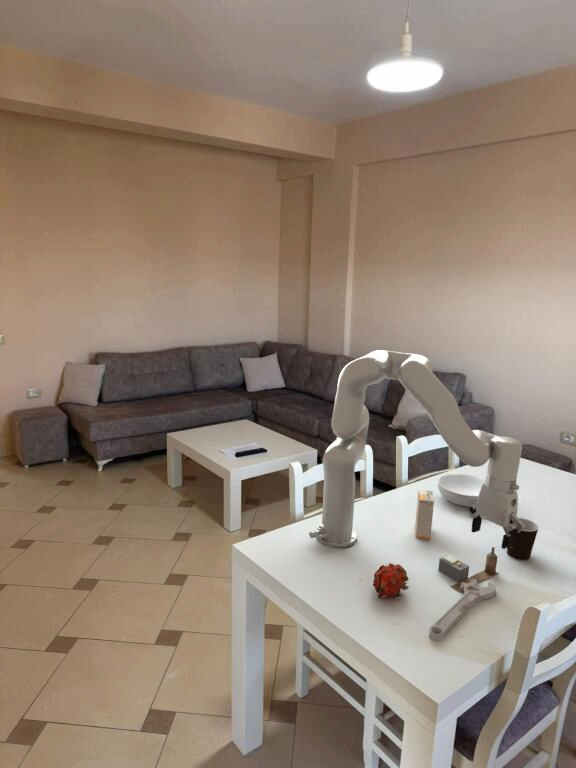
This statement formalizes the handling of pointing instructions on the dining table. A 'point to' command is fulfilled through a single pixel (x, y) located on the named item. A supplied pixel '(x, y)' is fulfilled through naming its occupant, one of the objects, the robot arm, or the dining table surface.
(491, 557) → the awl
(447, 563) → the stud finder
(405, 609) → the dining table surface
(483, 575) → the strip
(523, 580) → the dining table surface
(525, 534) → the coffee mug
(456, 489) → the serving bowl
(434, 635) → the wrench
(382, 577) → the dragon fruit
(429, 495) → the supplement box
